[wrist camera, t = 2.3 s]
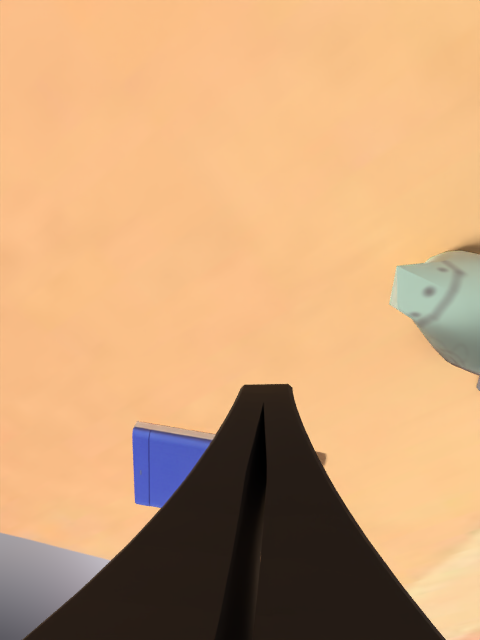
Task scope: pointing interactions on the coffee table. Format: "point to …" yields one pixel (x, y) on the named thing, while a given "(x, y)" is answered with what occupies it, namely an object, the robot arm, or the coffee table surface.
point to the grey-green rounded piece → (444, 304)
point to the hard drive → (164, 460)
